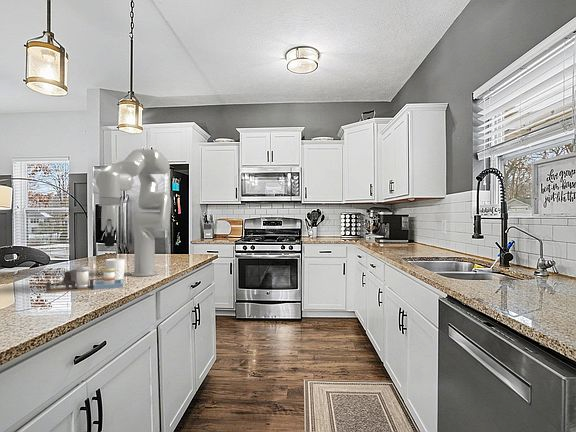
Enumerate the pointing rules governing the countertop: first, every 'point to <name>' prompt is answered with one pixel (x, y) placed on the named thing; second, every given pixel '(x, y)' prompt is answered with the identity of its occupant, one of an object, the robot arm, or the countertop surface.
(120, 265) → the white cup
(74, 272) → the perforated stone tool
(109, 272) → the marked fuse
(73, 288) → the fuse holder
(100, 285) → the tray
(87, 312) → the countertop surface
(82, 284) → the grey rounded cylinder
